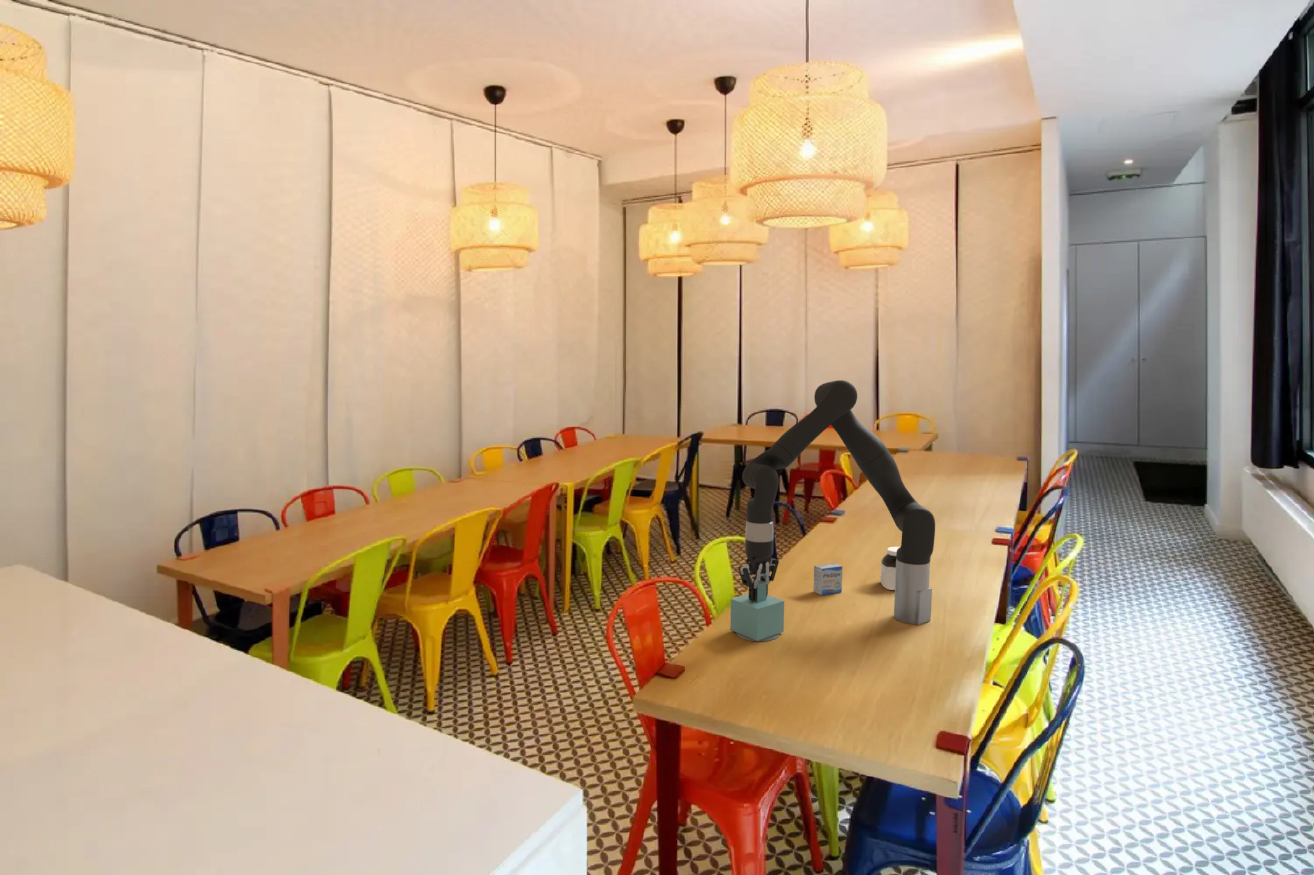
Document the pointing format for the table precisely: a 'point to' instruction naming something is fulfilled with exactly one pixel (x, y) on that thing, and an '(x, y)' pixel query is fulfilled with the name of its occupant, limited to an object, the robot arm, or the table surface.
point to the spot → (759, 640)
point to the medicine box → (828, 579)
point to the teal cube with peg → (757, 614)
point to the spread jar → (889, 568)
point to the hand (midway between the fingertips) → (758, 598)
